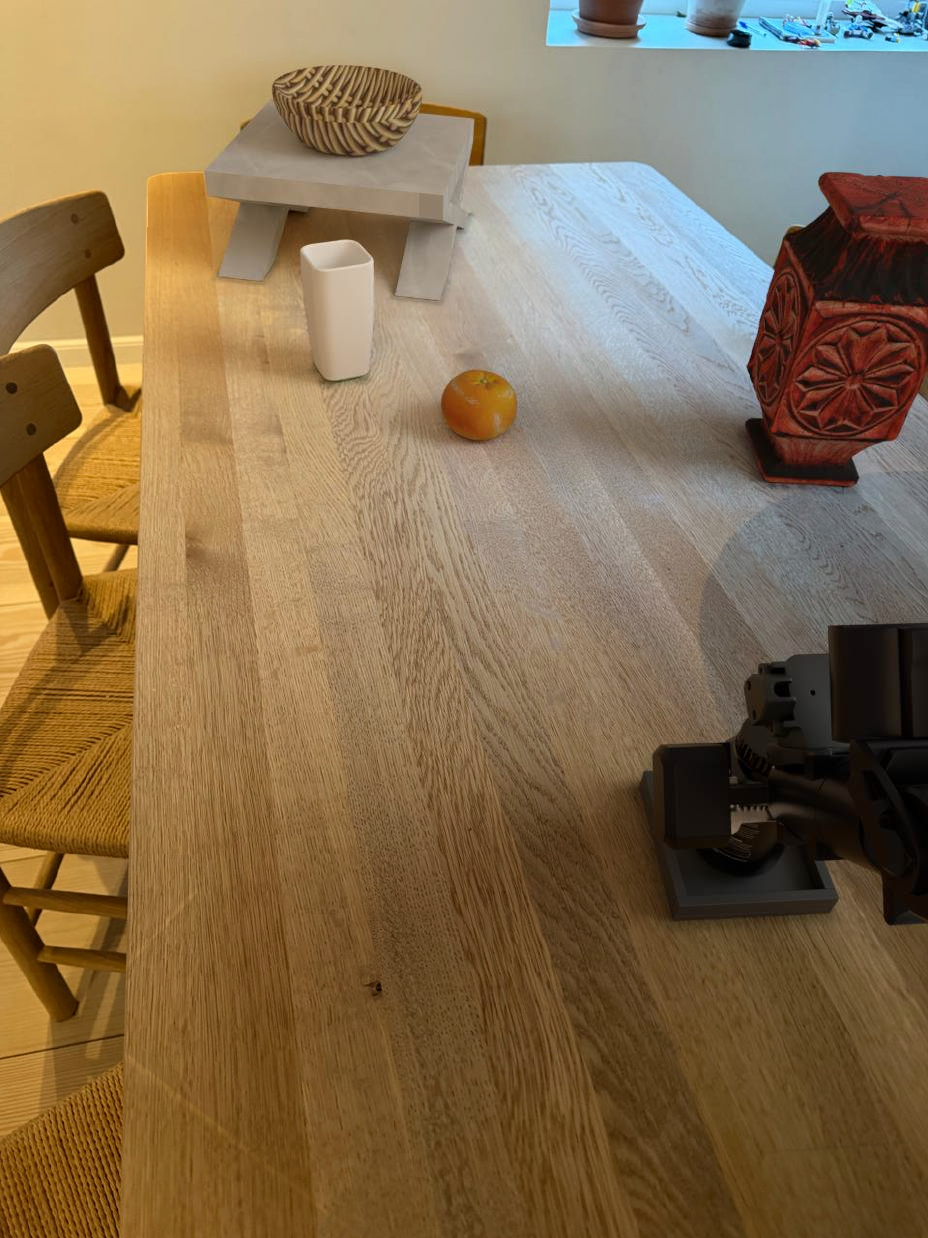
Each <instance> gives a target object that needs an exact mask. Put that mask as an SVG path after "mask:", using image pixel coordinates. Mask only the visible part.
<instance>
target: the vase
mask: <svg viewBox="0 0 928 1238" xmlns="http://www.w3.org/2000/svg"><path fill="white" fill-rule="evenodd" d="M817 182H818V183H817V185H818V188H819V190H820V192H821V193H822V195H823V196H824V198H825V200H826V201H827V203H828V206H827V208H826V209H825V210H824V211H823V212H822V213H821V214H819V215H818V216H817V217H816V218H815V219H814V220H813V221H811V222H809V223H808V224H807V225H805V226H804V227H802V228H800V229H798V230H795V231H792V232H788V233H786V234H785V235H784V236H783V237H782V241H781V245H780V250H779V255H778V257H777V262H776V263H775V264H776V265H775V268H774V270H773V274H772V278H771V280H770V282H769V285H768V288H767V289H768V290H767V293H766V296H765V297H766V298H765V302H764V305H763V308H762V311H761V314H760V316H759V317H760V318H759V320H758V327H757V333H756V336H755V339H754V341H753V346H752V348H751V353H750V356H749V359H748V362H747V363H746V366H745V367H746V370H747V373H748V375H749V379H750V382H751V384H752V388H753V391H754V392H755V394H756V399H757V401H758V403H759V406H760V409H761V417H751V418H748V419H747V420H745V423H744V428H745V432H746V435H747V437H748V439H749V442H750V444H751V448H752V450H753V453H754V457H755V460H756V463H757V466H758V468H759V469H758V470H759V471H760V474H761V475H762V478H763V479H764V481H767V482H769V483H784V484H787V483H788V484H801V485H802V484H805V485H817V486H818V485H819V486H838V487H839V486H840V487H848V488H849V487H853V486H855V485H857V484H858V482H859V480H860V476H859V473H858V470H857V467H856V465H855V461H854V459H853V457H855V456H856V455H858V454H859V453H860V452H862V451H864V450H866V449H868V448H869V447H872V446H875V445H877V444H881V443H885V442H893V441H895V440H897V439H898V436H899V435H900V433H901V430H902V428H903V426H904V424H905V421H906V419H907V417H908V414H909V412H910V411H911V408H912V406H913V403H914V401H915V399H916V398H917V396H918V394H919V391H920V389H921V387H922V384H923V381H924V379H925V377H926V375H927V373H928V177H924V176H906V175H887V176H885V175H881V174H878V175H864V174H862V173H859V172H846V171H827V172H826V171H825V172H824V173H822V174H821V175H820V176H819V177H818V180H817Z"/></svg>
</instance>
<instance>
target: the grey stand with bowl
mask: <svg viewBox="0 0 928 1238" xmlns="http://www.w3.org/2000/svg"><path fill="white" fill-rule="evenodd" d="M271 95H272V98H270V99H269V100H268V101H267V102H266V103H265V104H264V106H263V107H262V108H261V109H260V110H259V111H258V112H257V113H256V114H255V115H254V117H252V119H250V121H249V122H247V124H246V125H245V126H244V127H243V128H242V129H241V130H240V131H239V132H238V133H237V134H236V136H234V138H233V139H232V140H230V142H229V143H228V144H227V145H226V146H225V148H223V149H222V151H220V152H219V154H218V155H217V156H216V157H215V158H214V159H213V160H212V161H211V162H210V163H209V164H208V166H207V167H206V168H205V169H204V170H203V176H204V184H205V191H206V196H207V197H211V198H216V199H221V200H226V201H231V202H236V203H239V206H238V209H237V213H236V216H235V219H234V222H233V225H232V229H231V232H230V234H229V235H230V236H229V239H228V242H227V245H226V249H225V251H224V255H223V257H222V261H221V265H220V267H219V271H218V274H217V277H221V278H229V279H238V280H249V281H257V282H258V281H259V282H263V280H264V278H265V277H266V275H267V274H268V272H269V271H270V269H271V268H272V266H273V265H274V264H275V261H276V258H277V253H278V250H279V246H280V243H281V240H282V236H283V233H284V229H285V228H284V227H285V224H286V221H287V219H288V214H289V212H300V213H308V212H309V210H310V208H311V207H312V208H313V207H314V208H323V209H332V210H339V211H340V210H341V211H350V212H351V211H353V212H363V213H372V214H380V215H391V216H396V217H400V218H403V219H406V220H409V221H410V224H409V229H408V233H407V238H406V242H405V248H404V251H403V257H402V261H401V266H400V269H399V270H400V271H399V275H398V279H397V285H396V288H395V289H396V290H395V295H394V296H395V297H405V298H413V299H424V300H432V301H441V300H442V299H441V298H442V296H443V293H444V289H445V287H446V284H447V281H448V275H449V270H450V265H451V261H452V254H453V250H454V245H455V239H456V233H457V229H466V225H467V222H468V218H469V215H470V212H468V211H466V210H464V209H463V208H461V207H462V202H463V196H464V190H465V186H466V181H467V175H468V171H469V165H470V159H471V154H472V150H473V149H472V148H473V144H474V132H475V131H474V130H475V118H472V117H463V116H454V115H453V116H451V115H442V114H432V113H431V114H430V113H422V112H421V113H420V110H421V106H422V102H423V90H422V87H421V85H420V84H419V83H418V82H417V81H416V80H414V79H413V78H411V77H409V76H407V75H404V74H402V73H399V72H397V71H392V70H389V69H384V68H379V67H373V66H365V65H352V64H351V65H350V64H347V65H346V64H345V65H343V64H334V65H333V64H332V65H317V66H309V67H304V68H299V69H296V70H295V69H294V70H292V71H289V72H285V74H282V75H280V76H279V77H278V78H276V79H275V80H274V81H273V83H272V84H271Z"/></svg>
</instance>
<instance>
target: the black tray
mask: <svg viewBox="0 0 928 1238" xmlns="http://www.w3.org/2000/svg"><path fill="white" fill-rule="evenodd" d="M638 788H639V793H640V796H641V801H642V804H643V809H644V813H645V816H646V820H647V824H648V828H649V831H650V836H651V840H652V843H653V847H654V851H655V855H656V859H657V863H658V866H659V867H658V868H659V871H660V875H661V878H662V882H663V886H664V891H665V894H666V899H667V902H668V906H669V910H670V914H671V917H672V921H673V922H679V921H699V920H700V921H701V920H717V919H737V918H739V919H741V918H757V917H759V918H760V917H777V916H778V917H779V916H796V915H799V916H801V915H818V914H830V913H831V912H832V911H833V909H834V908H835V906H836V905H837V903H838V901H839V900H840V896H839V893H838V891H837V889H836V886H835V884H834V881H833V878H832V876H831V873H830V871H829V868H828V866H827V864H826V861H815V860H813V859H811V858H808V849H807V844H803V845H787V846H786V848H785V850H784V852H783V854H782V856H781V858H780V860H779V861H778V863H777V864H776V866H775V867H774V868H773V869H771V870H770V871H769V872H767V873H765V874H763V875H761V876H757V877H752V878H739V877H733V876H730V875H727V874H724V873H722V872H719V871H718V870H716V869H714V868H713V867H711V866H710V865H709V864H707V863H706V862H705V861H704V860H703V859H702V858H701V856H700V855H699V854H698V852H697V851H696V849H681V850H673V849H671V848H670V847H668V846H667V845H665V844H664V843H663V842H662V841H661V840H660V839H659V838H658V837H656V836H655V822H654V792H653V770H643V773H642V775H641V779H640V782H639V785H638Z"/></svg>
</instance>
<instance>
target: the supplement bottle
mask: <svg viewBox="0 0 928 1238" xmlns="http://www.w3.org/2000/svg"><path fill="white" fill-rule="evenodd" d="M724 742H730V743H731V770H732V776H735V777H738V784H759V783H767V781H768V778H769V775H770V773H771V771H772V767H773V766H770V765H768V764H767V761H766V743H777V737H774V738H772V737H770V735H769V732H768V729H767V728H766V727H765V726H753V725H752V724H751V722H750V721H749V718H748V717H747V718H746V717H745V719H744V721H743V722H742V723H741V727H740V728H739V730H738V732H737V734H735V735H733V736H731V737H729V738H727V739H726V740H725V741H724ZM749 805H752V806H753V807H754V809H755V805H758V806H759V807H760V809H761V806H762V805H765V806H766V808H767V806H768V804H746V805H739V806H740V807H741V809H742V808H743V806H747V808H749ZM733 810H735V811H736V808H733ZM786 846H787V845H782V844H780V843H778V842H777V826H776V821H774V822H754V823H742V824H741V826H740V828H739V830H738V831H737V832H736V833H734V837H731V838H730V840H729V842H728V845H727V847H720V848H700V849H696V851H697V852H698V854H699V855H700V856H701V858H702V859H703V860H704V861H705V862H706V863H707V864H709V865H710V866H711V867H713V868H714V869H716V870H718V871H719V872H722V873H724V874H727V875H730V876H733V877H739V878H752V877H757V876H761V875H763V874H765V873H767V872H769V871H770V870H771V869H773V868H774V867H775V866H776V864H777V863H778V861H779V860H780V858H781V856H782V854H783V852H784V850H785V848H786Z"/></svg>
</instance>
